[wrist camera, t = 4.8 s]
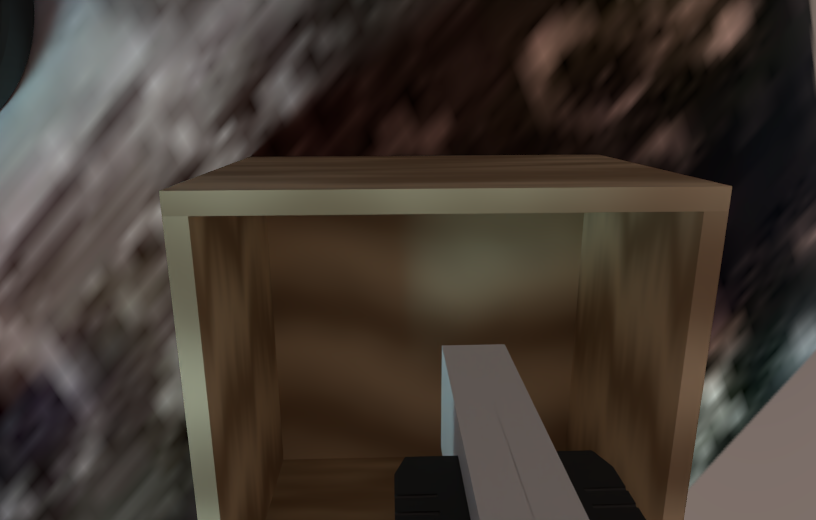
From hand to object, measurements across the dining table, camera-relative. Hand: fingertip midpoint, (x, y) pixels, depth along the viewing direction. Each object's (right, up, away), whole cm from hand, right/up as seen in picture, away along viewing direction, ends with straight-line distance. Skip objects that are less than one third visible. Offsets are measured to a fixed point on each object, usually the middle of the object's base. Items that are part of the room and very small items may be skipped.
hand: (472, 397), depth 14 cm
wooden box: (-1, 0, +18) cm, 18 cm away
